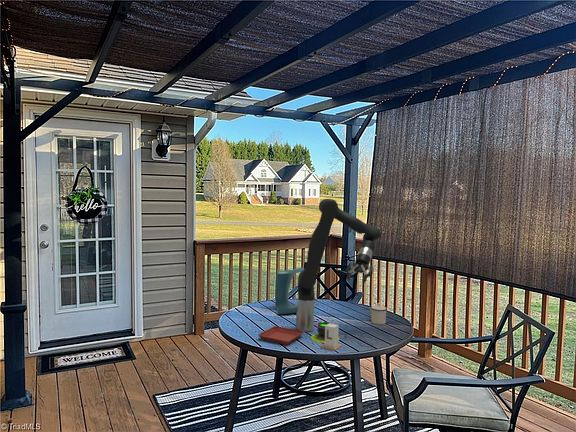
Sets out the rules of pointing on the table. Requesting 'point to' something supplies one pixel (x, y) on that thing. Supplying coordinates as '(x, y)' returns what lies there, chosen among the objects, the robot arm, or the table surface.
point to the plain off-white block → (331, 335)
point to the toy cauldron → (320, 332)
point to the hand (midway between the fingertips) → (355, 280)
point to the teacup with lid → (378, 314)
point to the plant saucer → (280, 335)
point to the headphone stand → (285, 291)
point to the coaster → (331, 347)
